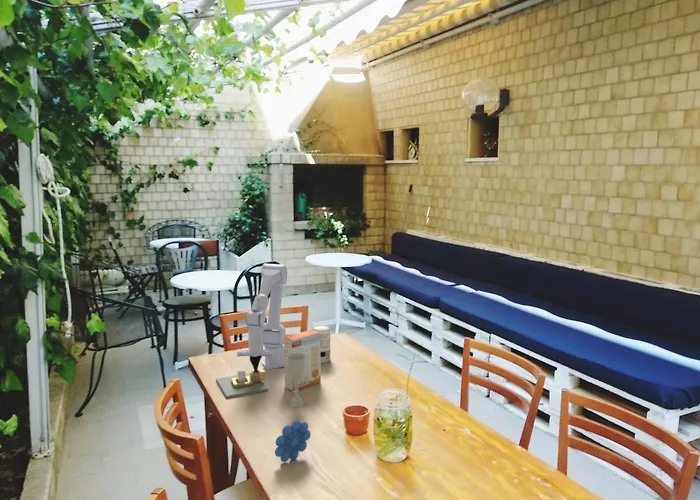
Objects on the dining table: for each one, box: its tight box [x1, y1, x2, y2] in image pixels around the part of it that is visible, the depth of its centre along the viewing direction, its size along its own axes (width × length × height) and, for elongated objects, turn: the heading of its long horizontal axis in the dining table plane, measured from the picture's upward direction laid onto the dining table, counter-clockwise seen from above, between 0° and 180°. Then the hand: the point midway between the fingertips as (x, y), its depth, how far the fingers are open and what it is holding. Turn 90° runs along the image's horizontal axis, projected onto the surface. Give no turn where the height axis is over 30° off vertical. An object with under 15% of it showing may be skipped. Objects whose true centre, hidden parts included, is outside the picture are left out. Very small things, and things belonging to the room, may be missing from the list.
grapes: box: [274, 419, 311, 463], centre depth 160 cm, size 12×7×12 cm, turn 124°
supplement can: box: [312, 325, 331, 364], centre depth 240 cm, size 8×8×15 cm
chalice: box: [287, 353, 306, 408], centre depth 196 cm, size 7×7×18 cm
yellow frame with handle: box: [231, 369, 266, 387], centre depth 214 cm, size 12×7×4 cm, turn 112°
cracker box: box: [283, 329, 322, 393], centre depth 213 cm, size 14×6×21 cm, turn 133°
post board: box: [215, 369, 269, 399], centre depth 213 cm, size 16×18×6 cm
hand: (256, 373), depth 217 cm, fingers closed, pressing on yellow frame with handle
